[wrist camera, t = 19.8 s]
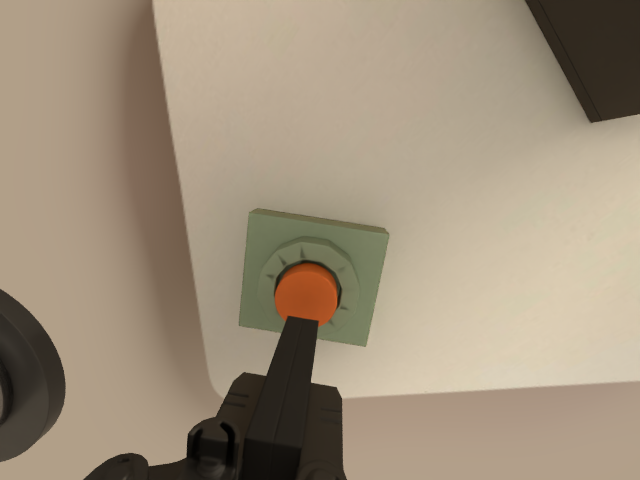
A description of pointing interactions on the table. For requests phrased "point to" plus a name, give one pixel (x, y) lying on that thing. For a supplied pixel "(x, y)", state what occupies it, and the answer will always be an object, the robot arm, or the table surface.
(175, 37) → the table surface
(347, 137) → the table surface
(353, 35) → the table surface
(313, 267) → the orange button
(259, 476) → the robot arm
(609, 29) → the dark lidded box
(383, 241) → the control block
